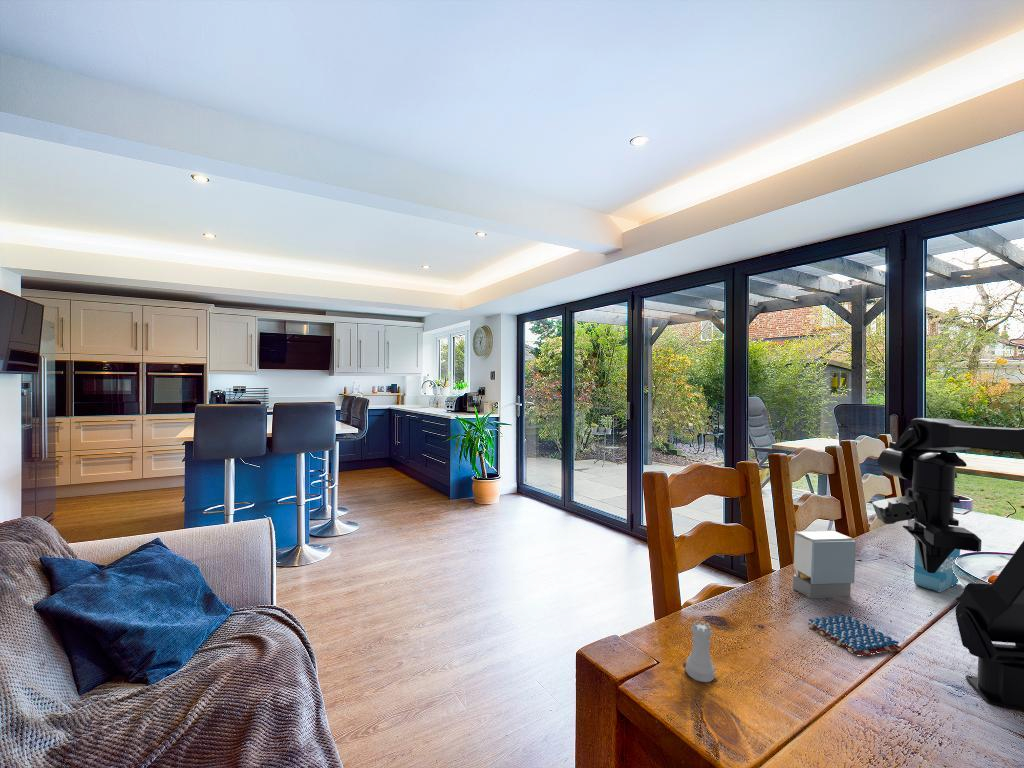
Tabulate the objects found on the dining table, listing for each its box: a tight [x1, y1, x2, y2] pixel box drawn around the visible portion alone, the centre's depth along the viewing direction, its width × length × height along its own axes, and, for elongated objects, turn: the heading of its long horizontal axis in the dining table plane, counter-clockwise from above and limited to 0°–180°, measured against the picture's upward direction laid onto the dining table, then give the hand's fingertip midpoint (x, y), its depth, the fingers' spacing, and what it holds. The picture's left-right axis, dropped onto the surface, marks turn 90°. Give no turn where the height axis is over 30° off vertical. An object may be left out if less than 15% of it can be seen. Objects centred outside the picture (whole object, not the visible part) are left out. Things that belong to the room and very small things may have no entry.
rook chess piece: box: [685, 620, 716, 683], centre depth 73 cm, size 4×4×8 cm
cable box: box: [792, 530, 854, 600], centre depth 103 cm, size 5×10×13 cm, turn 99°
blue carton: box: [913, 541, 961, 593], centre depth 109 cm, size 12×4×12 cm, turn 119°
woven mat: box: [807, 613, 902, 657], centre depth 85 cm, size 10×11×2 cm
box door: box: [811, 539, 857, 584], centre depth 100 cm, size 1×10×9 cm, turn 97°
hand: (929, 571), depth 84 cm, fingers closed
